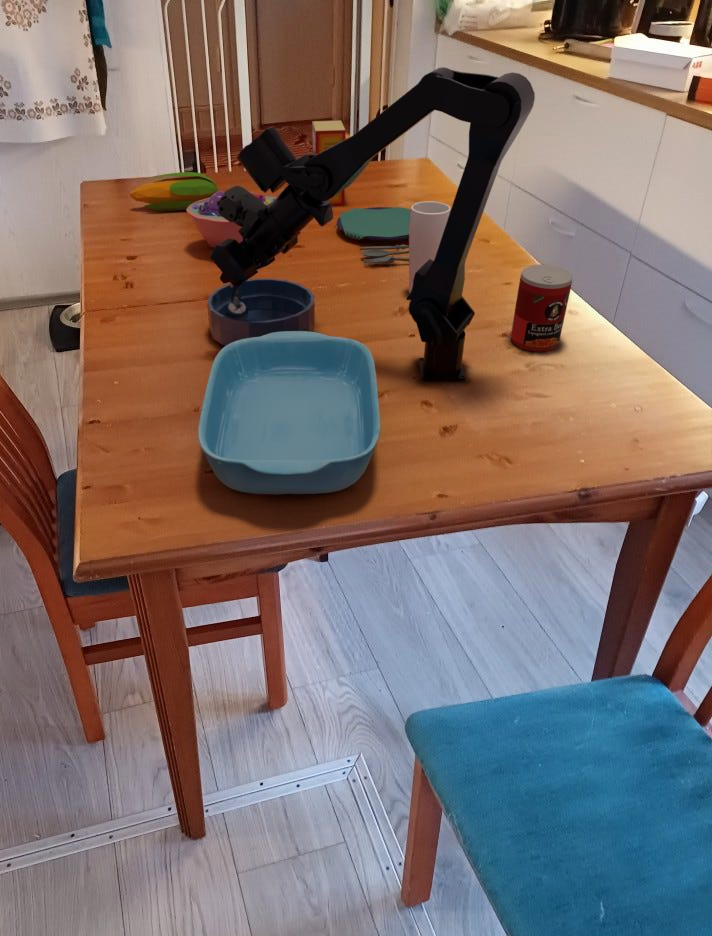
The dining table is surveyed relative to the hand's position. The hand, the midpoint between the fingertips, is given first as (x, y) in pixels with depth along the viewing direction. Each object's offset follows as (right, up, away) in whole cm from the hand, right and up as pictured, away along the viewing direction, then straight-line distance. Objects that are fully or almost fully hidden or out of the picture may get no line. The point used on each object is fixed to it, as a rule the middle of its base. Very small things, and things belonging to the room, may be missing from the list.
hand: (225, 278), depth 125 cm
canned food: (+50, -10, 0) cm, 51 cm away
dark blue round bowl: (+6, -7, +4) cm, 10 cm away
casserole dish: (+11, -28, -20) cm, 36 cm away
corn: (-17, +34, +54) cm, 66 cm away
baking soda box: (+18, +38, +57) cm, 71 cm away
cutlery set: (+30, +20, +37) cm, 51 cm away
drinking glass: (+34, +2, +15) cm, 37 cm away
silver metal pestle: (+2, -6, +4) cm, 7 cm away
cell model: (-1, +18, +34) cm, 39 cm away
